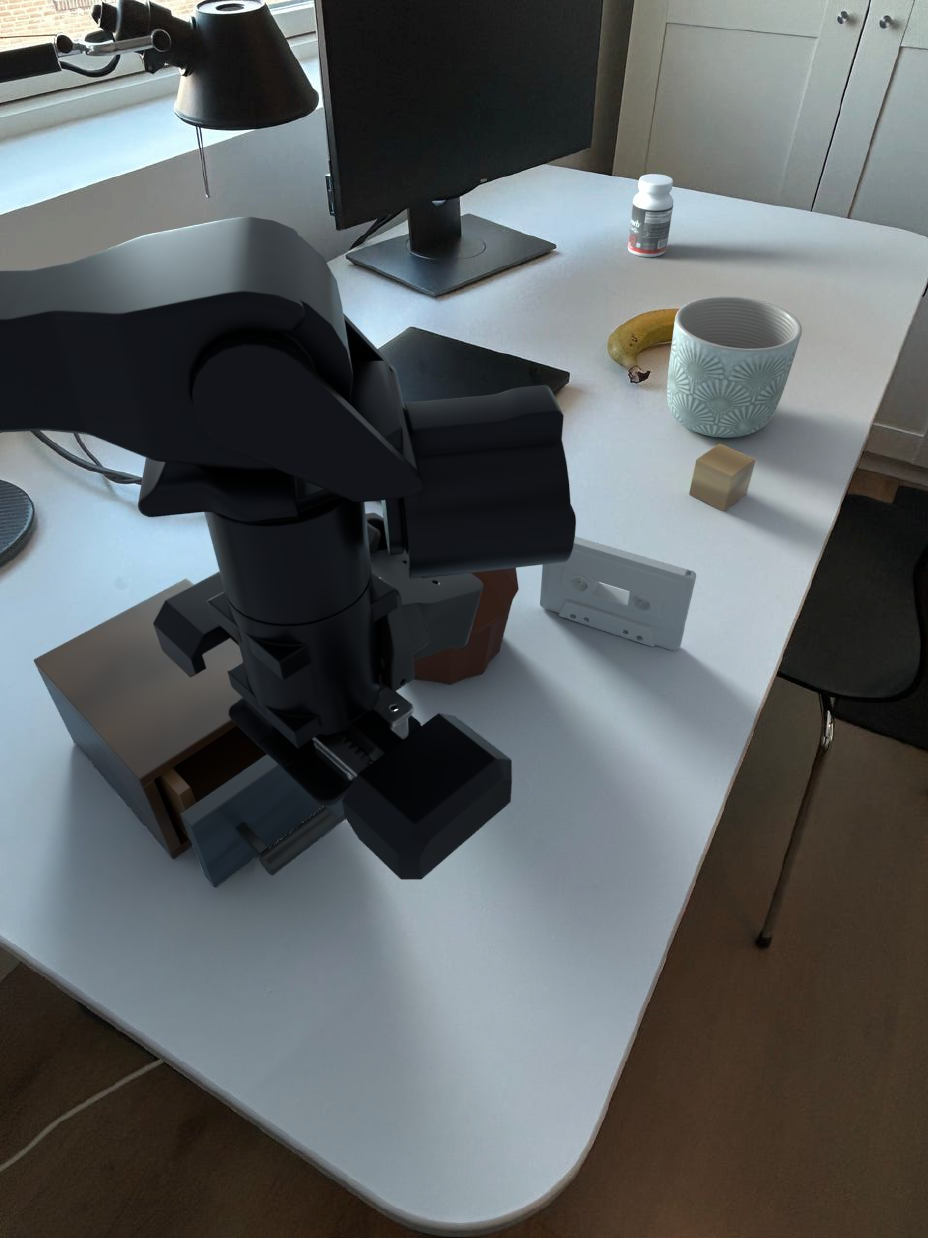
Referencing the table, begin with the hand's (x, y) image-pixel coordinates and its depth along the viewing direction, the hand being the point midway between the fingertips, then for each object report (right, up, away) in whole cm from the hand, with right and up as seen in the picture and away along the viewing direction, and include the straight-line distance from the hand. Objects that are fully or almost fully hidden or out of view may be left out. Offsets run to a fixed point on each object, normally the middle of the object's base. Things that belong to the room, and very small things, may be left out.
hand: (339, 806), depth 45 cm
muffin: (+5, +7, +26) cm, 27 cm away
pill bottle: (+33, +64, +85) cm, 111 cm away
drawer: (-8, -2, +14) cm, 16 cm away
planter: (+34, +31, +51) cm, 68 cm away
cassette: (+18, +9, +27) cm, 34 cm away
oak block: (+31, +22, +40) cm, 55 cm away
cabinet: (-13, 0, +18) cm, 22 cm away
